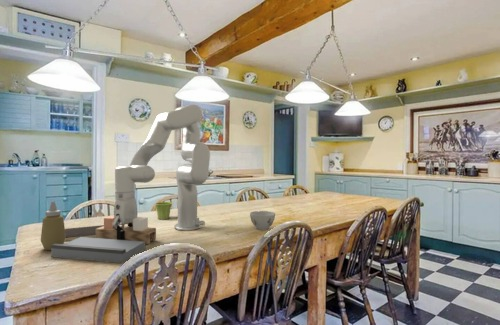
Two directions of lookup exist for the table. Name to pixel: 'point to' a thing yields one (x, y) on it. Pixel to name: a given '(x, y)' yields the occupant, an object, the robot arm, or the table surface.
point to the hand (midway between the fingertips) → (125, 237)
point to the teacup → (262, 219)
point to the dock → (98, 249)
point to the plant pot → (163, 209)
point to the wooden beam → (128, 234)
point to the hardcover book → (81, 232)
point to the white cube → (140, 223)
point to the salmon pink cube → (108, 222)
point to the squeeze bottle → (52, 228)
